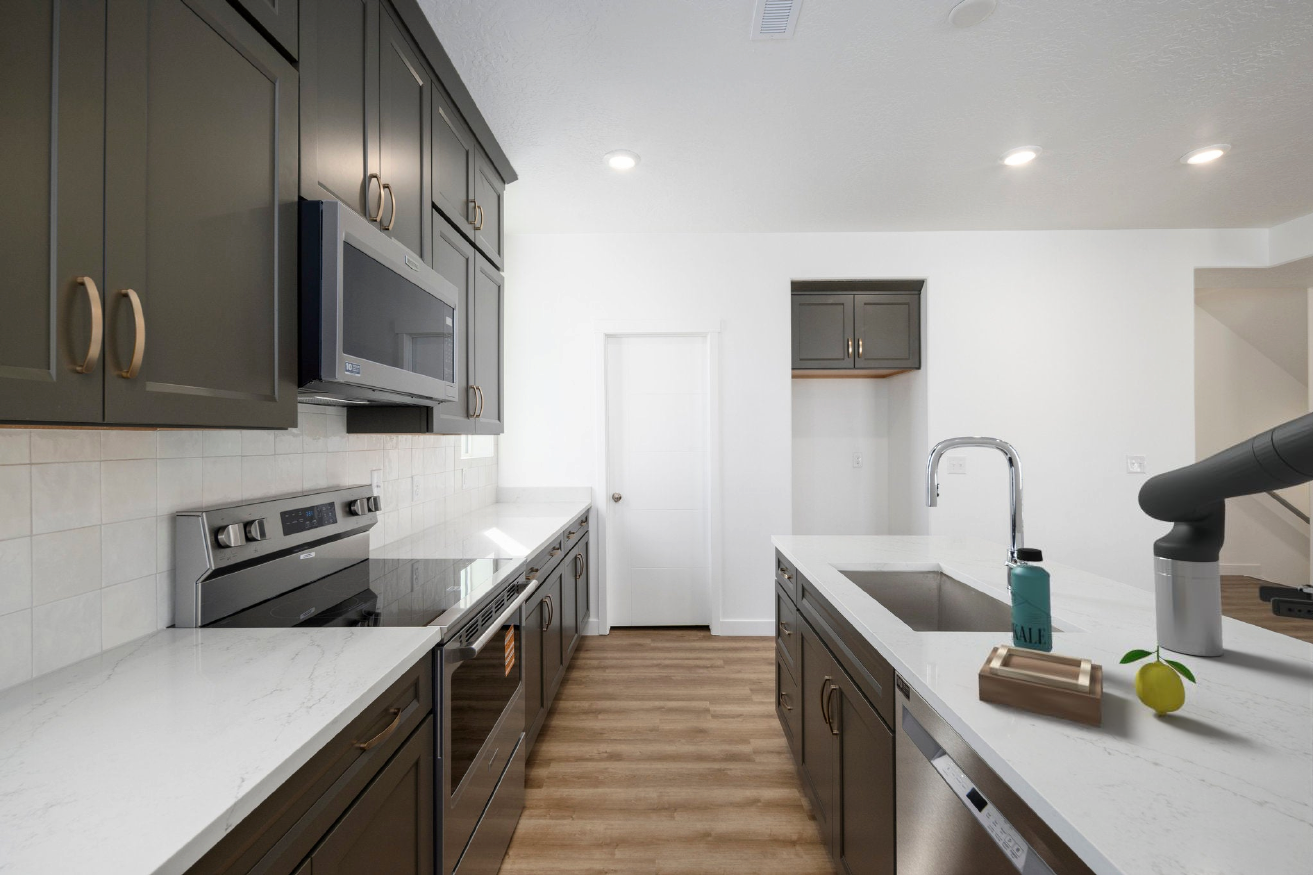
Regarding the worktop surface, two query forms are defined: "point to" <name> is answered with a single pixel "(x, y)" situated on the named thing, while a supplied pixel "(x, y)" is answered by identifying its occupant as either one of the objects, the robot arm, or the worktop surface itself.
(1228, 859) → the worktop surface
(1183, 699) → the lemon
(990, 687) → the stand
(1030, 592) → the beverage bottle
